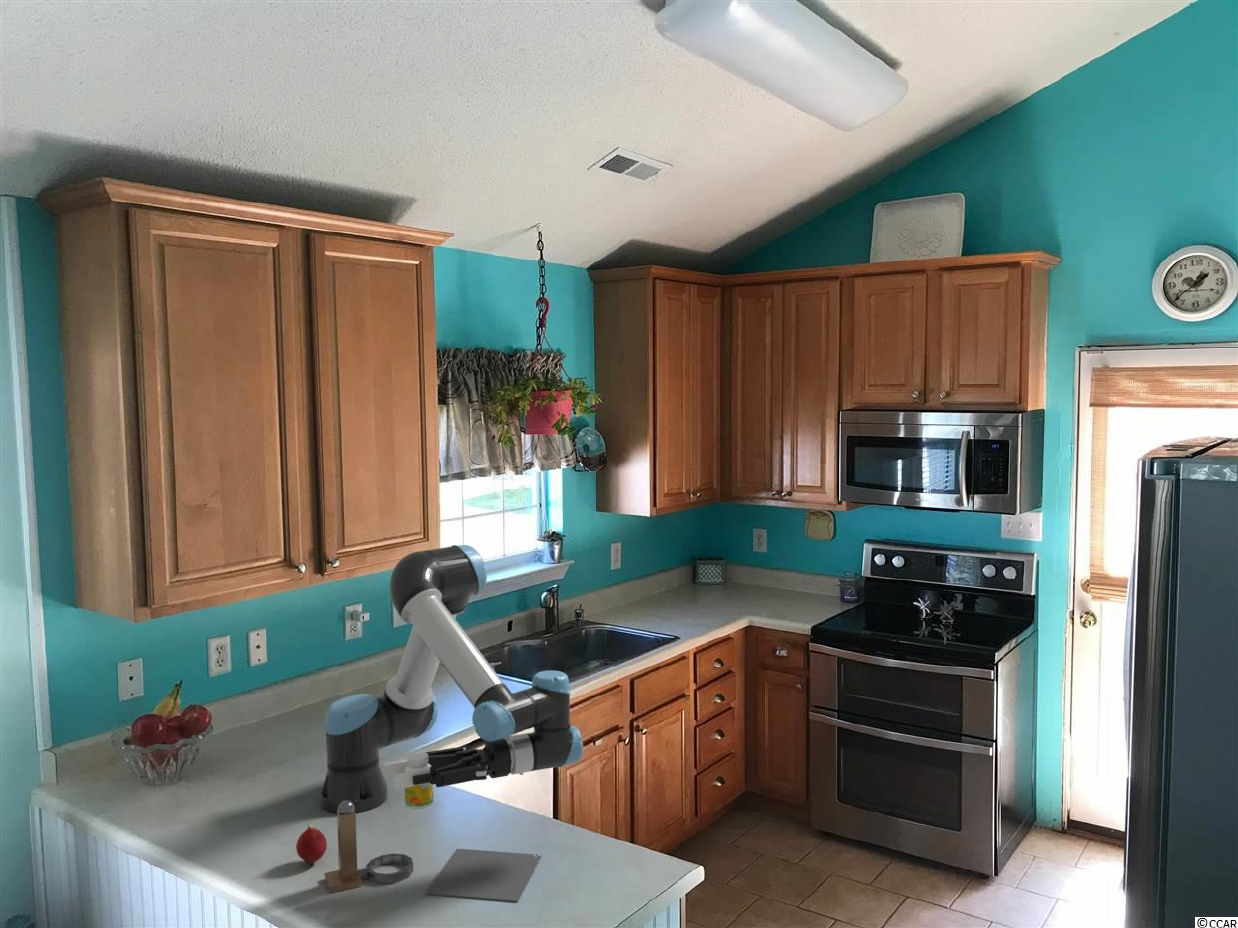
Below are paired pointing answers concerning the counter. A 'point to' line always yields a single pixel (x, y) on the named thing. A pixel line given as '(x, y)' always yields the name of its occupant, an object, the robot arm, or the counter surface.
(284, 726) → the counter surface
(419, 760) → the supplement bottle
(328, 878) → the ring stand
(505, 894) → the mat
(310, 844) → the onion
